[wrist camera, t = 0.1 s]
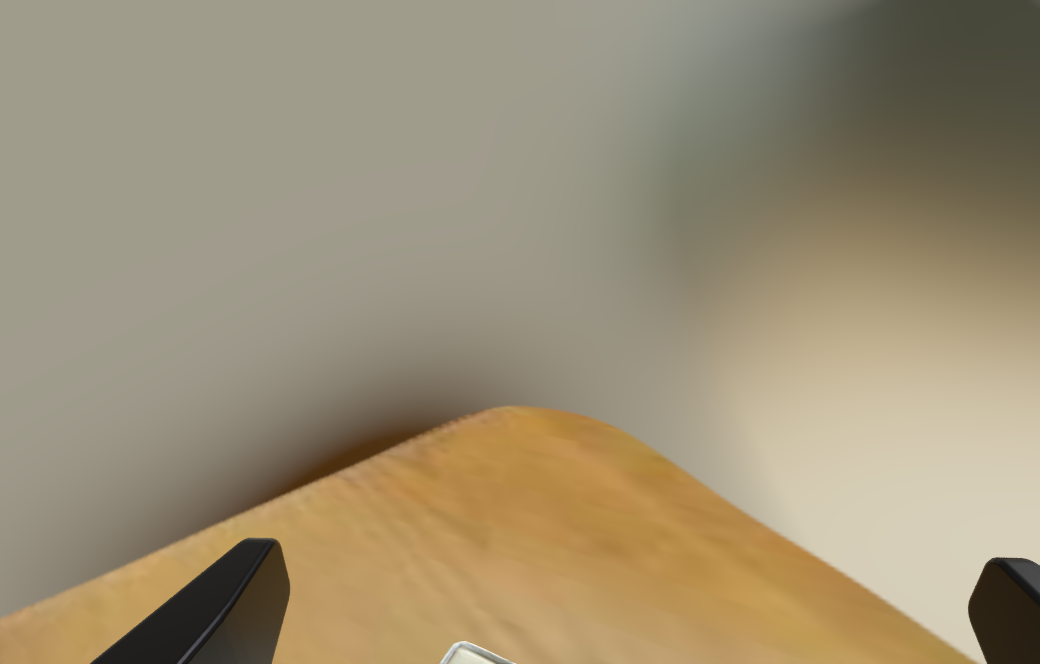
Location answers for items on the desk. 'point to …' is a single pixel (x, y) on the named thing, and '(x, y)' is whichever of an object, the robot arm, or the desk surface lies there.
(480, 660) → the skincare box
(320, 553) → the desk surface
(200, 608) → the robot arm
